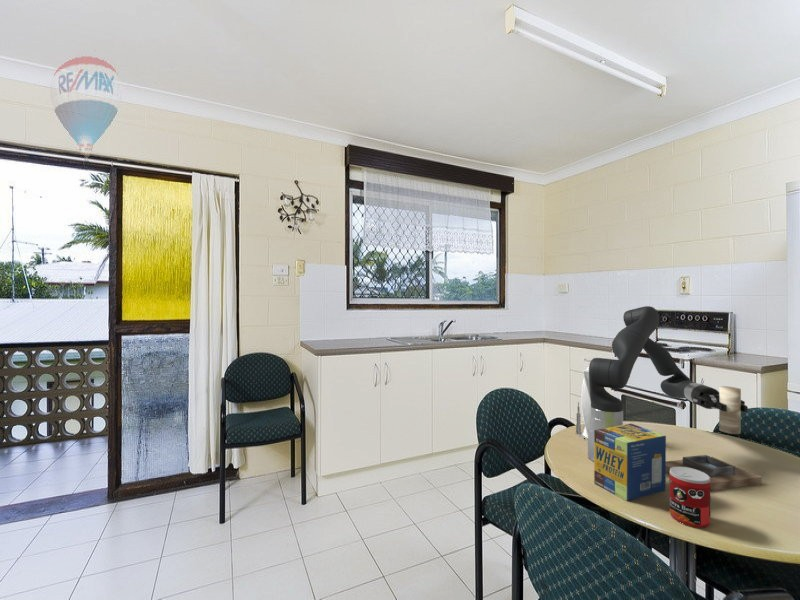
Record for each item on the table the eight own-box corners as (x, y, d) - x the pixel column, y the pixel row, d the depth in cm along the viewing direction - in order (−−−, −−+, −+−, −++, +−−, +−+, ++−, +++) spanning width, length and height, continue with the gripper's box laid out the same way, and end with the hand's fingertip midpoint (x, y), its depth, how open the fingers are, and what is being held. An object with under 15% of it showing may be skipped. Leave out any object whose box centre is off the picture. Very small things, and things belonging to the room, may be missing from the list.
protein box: (593, 483, 108) (593, 429, 108) (631, 474, 113) (631, 423, 113) (627, 502, 98) (626, 442, 98) (667, 491, 104) (667, 434, 103)
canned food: (662, 514, 92) (662, 469, 92) (682, 507, 95) (682, 463, 95) (697, 532, 85) (697, 483, 85) (717, 523, 88) (717, 477, 88)
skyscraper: (595, 433, 148) (595, 362, 148) (608, 441, 140) (608, 366, 140) (575, 433, 148) (574, 362, 148) (586, 441, 140) (586, 366, 140)
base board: (703, 491, 103) (703, 475, 103) (659, 468, 117) (659, 455, 117) (761, 484, 107) (761, 469, 107) (712, 462, 121) (712, 449, 121)
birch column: (731, 434, 119) (731, 390, 119) (715, 429, 124) (715, 386, 124) (744, 433, 120) (745, 389, 120) (727, 427, 125) (728, 385, 125)
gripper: (679, 384, 137) (710, 396, 121) (724, 385, 135) (761, 398, 118) (679, 404, 137) (710, 419, 121) (724, 406, 135) (761, 421, 118)
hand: (735, 408), depth 120 cm, fingers closed on birch column, 5 cm apart
